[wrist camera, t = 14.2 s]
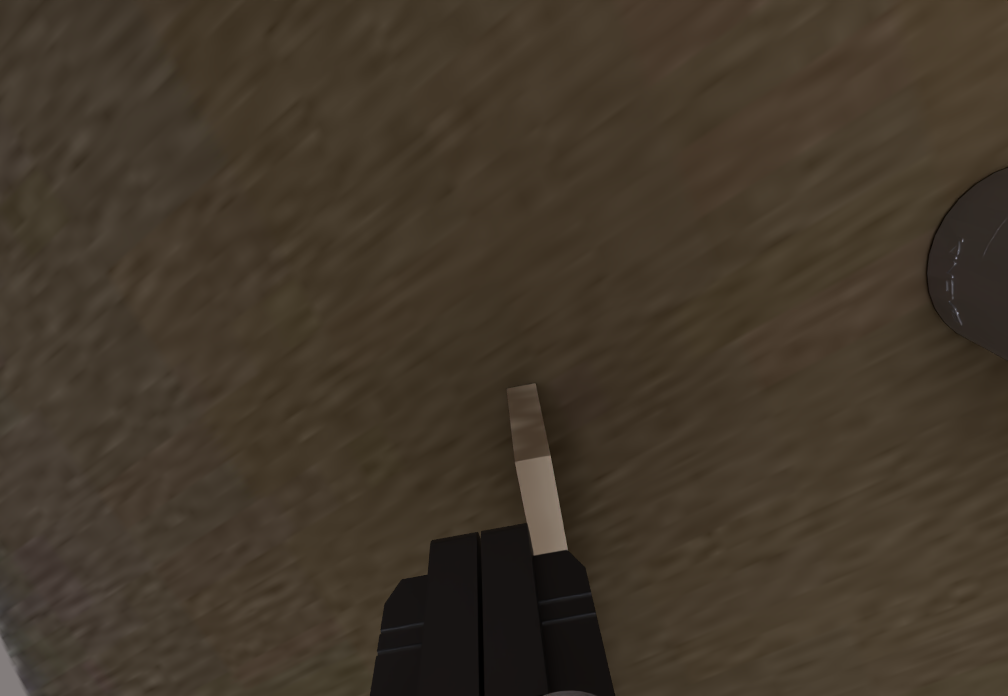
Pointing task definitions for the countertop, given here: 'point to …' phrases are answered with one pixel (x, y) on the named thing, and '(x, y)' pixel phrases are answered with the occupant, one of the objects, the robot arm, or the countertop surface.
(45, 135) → the countertop surface
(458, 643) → the robot arm
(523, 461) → the wooden frame
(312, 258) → the countertop surface
